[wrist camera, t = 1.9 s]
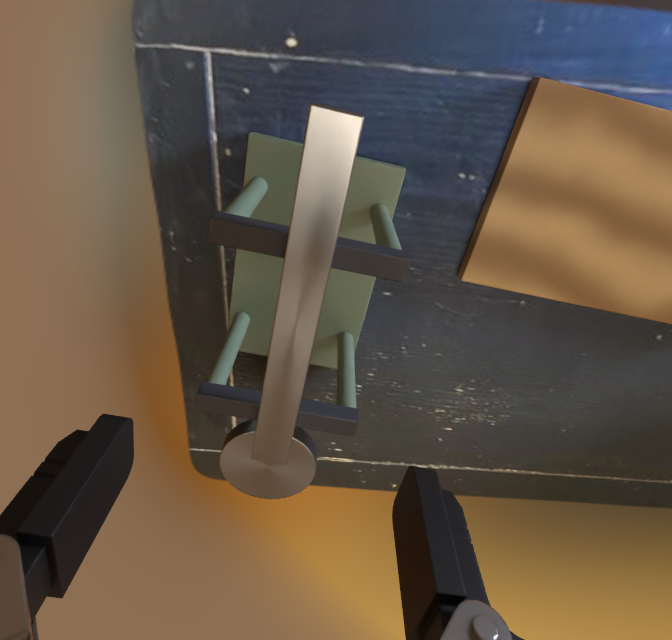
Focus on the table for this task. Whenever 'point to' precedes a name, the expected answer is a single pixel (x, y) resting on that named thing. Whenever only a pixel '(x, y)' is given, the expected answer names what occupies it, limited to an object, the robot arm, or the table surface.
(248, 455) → the ladle
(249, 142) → the rack
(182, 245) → the table surface
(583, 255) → the board
